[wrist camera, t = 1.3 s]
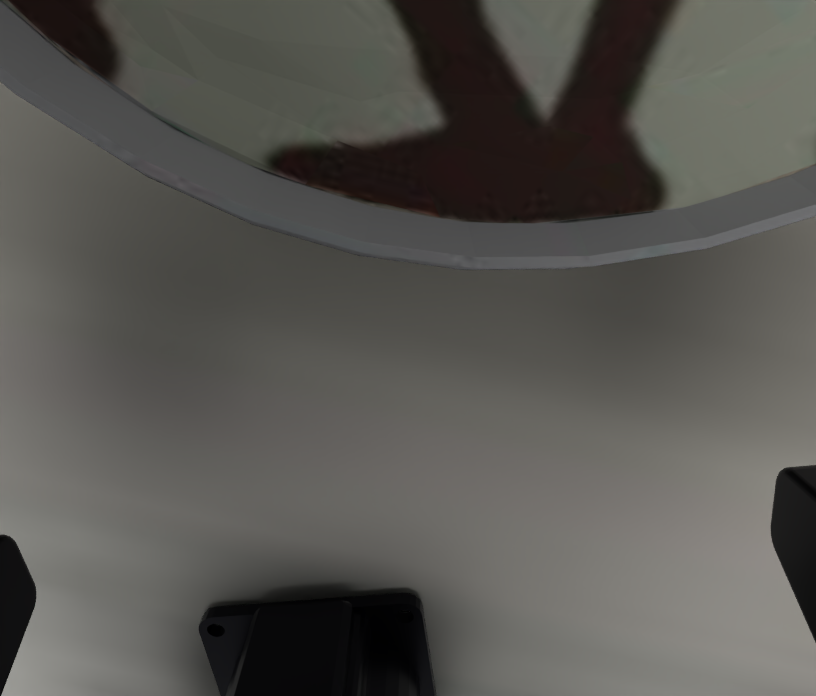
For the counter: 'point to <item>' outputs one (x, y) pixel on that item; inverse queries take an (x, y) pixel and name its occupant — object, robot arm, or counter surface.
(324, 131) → the food container
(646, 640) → the counter surface
